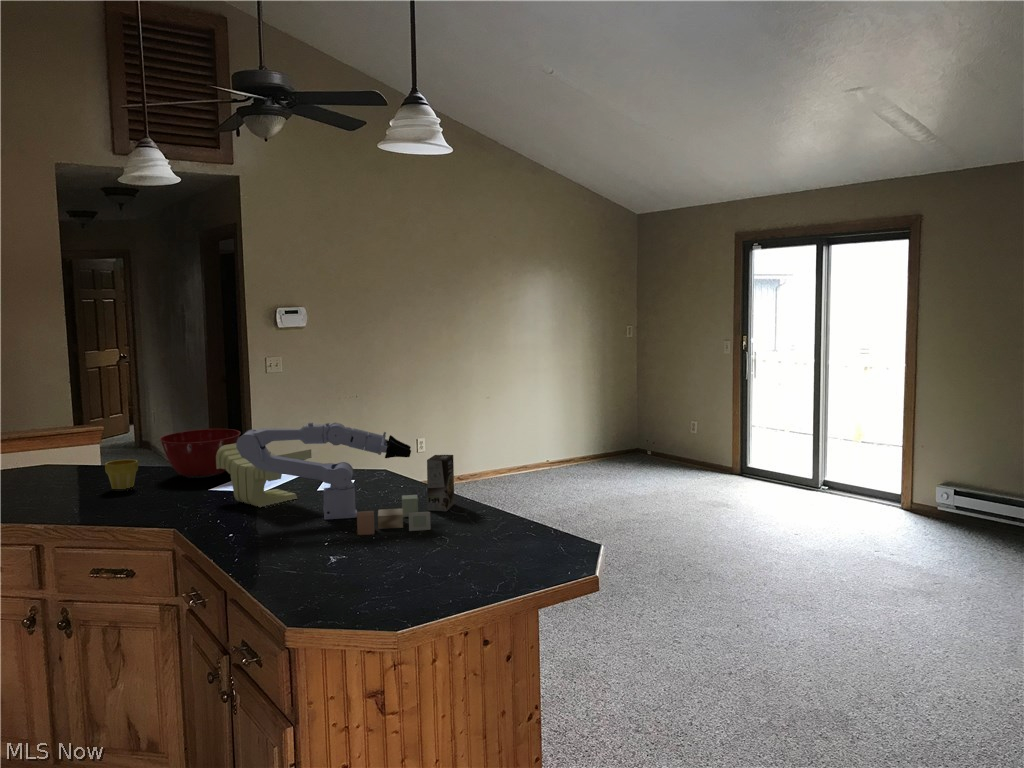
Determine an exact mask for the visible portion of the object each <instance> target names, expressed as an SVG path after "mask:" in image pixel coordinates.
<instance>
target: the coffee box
mask: <svg viewBox="0 0 1024 768" xmlns="http://www.w3.org/2000/svg"><path fill="white" fill-rule="evenodd" d="M454 463H455V462H454V455H453V454H434V455H433V456H431V457H430V458H428V459H427V460H426V480H427V481H426V482H427V488H426V489H427V490H426V491H427V511H428V512H431V511H432V512H447V511H448V510H450V509H451V508H452V507H453V506H454V505H455V474H454V473H455V470H454V469H455V468H454V466H455V465H454Z"/></svg>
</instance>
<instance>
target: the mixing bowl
mask: <svg viewBox="0 0 1024 768" xmlns="http://www.w3.org/2000/svg"><path fill="white" fill-rule="evenodd" d="M240 435H241V431H239V430H237V429H230V428H205V429H203V428H202V429H193V430H185V431H179V432H175V433H170V434H166V435H163V436H161V437H160V438H159V441H160V443H161V445H162V447H163V451H164V454H165V457H166V458H167V459H168V461H169V463H170V465H171V466H172V468H173V469H174V470H175V472H176V473H177V474H179V475H180V476H182V475H183V476H182V477H184V476H190V477H191V476H192V477H193V476H207V475H216V474H220V473H222V474H223V473H225V472H227V471H226V469H221V468H220V469H217V468H216V454H217V451H218V450H219V448H220V447H222V446H224V445H228V444H235V443H237V440H238V438H239V437H240Z"/></svg>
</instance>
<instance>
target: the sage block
mask: <svg viewBox="0 0 1024 768" xmlns="http://www.w3.org/2000/svg"><path fill="white" fill-rule="evenodd" d="M401 508H403V518H409V513H413V512H419V500H418V494H409V495H408V494H407V495H406V494H405V495H404V494H403V495H401Z"/></svg>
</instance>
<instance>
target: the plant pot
mask: <svg viewBox="0 0 1024 768" xmlns="http://www.w3.org/2000/svg"><path fill="white" fill-rule="evenodd" d="M104 469H105V470H104V471H105V474H107V477H108V479H109V483H110V486H111V490H112V489H126V488H130V487H133V486H134V487H135V481H136V475H137V472H138V470H139V462H138V460H137V459H117V460H111V461H107V462H105V463H104Z"/></svg>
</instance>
